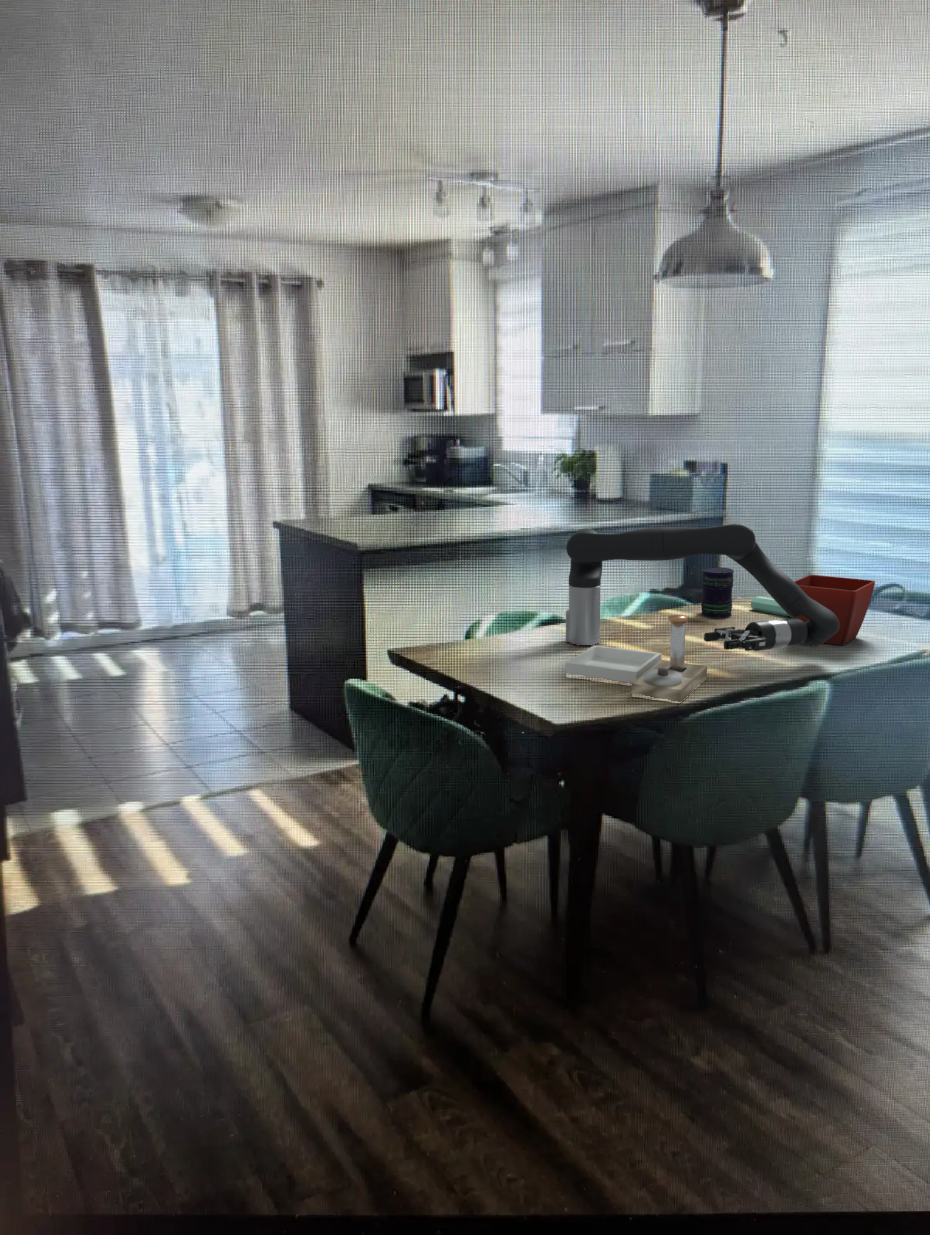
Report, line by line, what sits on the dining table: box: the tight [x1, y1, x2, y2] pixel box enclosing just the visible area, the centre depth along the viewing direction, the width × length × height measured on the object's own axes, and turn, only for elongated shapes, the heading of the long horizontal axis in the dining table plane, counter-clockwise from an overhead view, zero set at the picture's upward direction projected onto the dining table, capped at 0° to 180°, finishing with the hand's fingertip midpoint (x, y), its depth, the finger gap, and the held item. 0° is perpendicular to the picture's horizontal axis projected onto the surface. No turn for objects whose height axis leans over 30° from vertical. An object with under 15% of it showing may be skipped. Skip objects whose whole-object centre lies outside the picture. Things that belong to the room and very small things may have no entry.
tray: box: [565, 644, 662, 684], centre depth 238 cm, size 19×19×4 cm
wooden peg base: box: [630, 659, 708, 702], centre depth 224 cm, size 12×22×6 cm, turn 150°
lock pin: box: [668, 613, 689, 672], centre depth 227 cm, size 5×5×17 cm
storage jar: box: [700, 566, 735, 619], centre depth 298 cm, size 10×10×15 cm
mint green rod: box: [750, 596, 792, 618], centre depth 296 cm, size 6×6×25 cm
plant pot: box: [793, 574, 876, 646], centre depth 266 cm, size 19×19×17 cm
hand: (714, 641), depth 231 cm, fingers open, 8 cm apart
